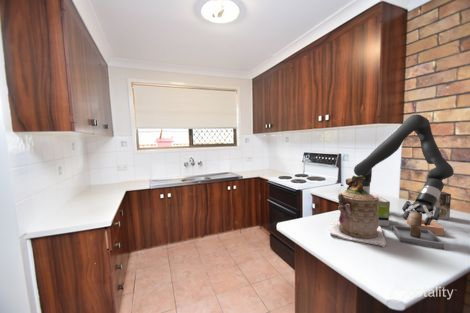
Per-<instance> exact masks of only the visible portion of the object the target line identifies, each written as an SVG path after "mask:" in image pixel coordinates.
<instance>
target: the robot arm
mask: <svg viewBox="0 0 470 313" xmlns="http://www.w3.org/2000/svg"><path fill="white" fill-rule="evenodd" d="M412 133H415V134H416V135H417V137H418V139H419V142H420V149H421V152H422V153H421V154H422V155H423V157H424V160H425V161H426V163H427V164H429V165H434V166H435V167H434V168H431V169H430V170H429V171H428V172H427V174H426V181H425V183H424V184H423V186H422V188H421V190H420V191H419V192H418V194H417V196H416V198H415V201H414V202H412V201H409V200H406V201H405V203H404V205H403V206H402V208H401V209H402V211H403V212H404V213H403V214H402V217H403V219H404V220H406V221H407V218H408V217H410V215H411V214H412V212H418V213H421V214H422V215H425V214H427V215H426V216H427V217H426V218H425V219H426V220H425V222H424V225H425V226H427V225H430V223H431V221H432V220H434V221H435V222H437V221H439V216H440V214H441V210H440V208H434V206H435V204H436V202H437V200H438V199H439V196H440V193H441V192H443V188H444V186H445V183H444V182H443V180H446V179H448V178H451V177H452V176H454V174H455V173H454V172H455V171H454V167H452V166H451V164H450V163H449V162H448V161H447V160H446V159H445V158H444V157H443V155H442V153H441V151H440V149H439V147H438V144H437V142H436V141H435V138H434V136H433V135H434V134H433V131H432V127H431V123H430V120H429V119H428V118H427V117H425V116H424V115H421V114H413V115H410V116H409V117H408V118H406V119H405V120H404V122H403V123H401V125H400V126H399V127H398V128H397V129H396V130H395V131H394V132H393V133H391V134H390V135H389V136H388V137H387V138H386V139H385V140H383V141H382V142H381V143H380V144H379V145H378V146H377V147H376V148H375V149H374V150H372V152H370V154H369V155H368V156H367V157H366V158H365V159H363V160H361V161H360V162H359V163H357V164H356V165H355V166H354V169H353V172H354V174H355V176H363V178H365V180H363V190H365V191H366V192H368V193H369V194H371V190H370V189H371V183H372V177H373V176H372V174H373V168H374V167H376V165H378V164H380V163H382V162H383V161H385V160H386V159H388V158H389V157H391V156H392V155H394V154H395V152H397V151H398V150H399V149H400V147H401V146H402V143H403V142H404V141H405V139H406V138H407V137H408V136H409V135H411V134H412ZM433 210H434V212H435V213H434V216H431V215H430V213H429V212H431V211H433Z"/></svg>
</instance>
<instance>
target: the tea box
mask: <svg viewBox="0 0 470 313" xmlns="http://www.w3.org/2000/svg"><path fill="white" fill-rule="evenodd" d="M374 195H375V194H374ZM375 196H377V197H379V201H378V202H377V204H378V214H379V226H380V227H381V226H382V227H384V226H385V227H388V226H389V225H390V224H389V223H390V210H391V209H390V207H391V202H390V200H388V199H385V198H383V197H382V196H379V195H375Z"/></svg>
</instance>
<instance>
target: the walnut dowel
mask: <svg viewBox="0 0 470 313" xmlns="http://www.w3.org/2000/svg"><path fill="white" fill-rule="evenodd" d="M410 215H411V217H410V218H411V229H410V236H412V237H415V238H421V224H422V219H423V214H422V213H418V212H412V213H410Z"/></svg>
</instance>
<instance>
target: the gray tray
mask: <svg viewBox="0 0 470 313" xmlns="http://www.w3.org/2000/svg"><path fill="white" fill-rule="evenodd" d="M410 229H411V227H409V226H402V225H396V224H391V231H392V233H394V235H395V237H396V238H397V240H398V241H399V242H400V243H403V244H409V245H417V246H423V247H428V248H434V249H440V250H444V249H445V243H444V242H443V241H442V240H441V239H439V238H438V236H437V235H434V234H433V233H432V232H431V231H430V230H426V229H421V238H415V237H412V236H410Z"/></svg>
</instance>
